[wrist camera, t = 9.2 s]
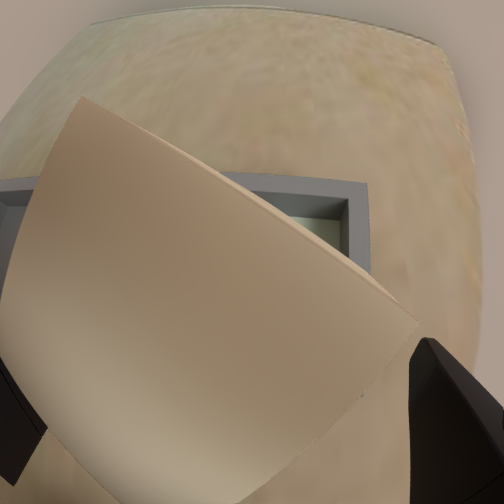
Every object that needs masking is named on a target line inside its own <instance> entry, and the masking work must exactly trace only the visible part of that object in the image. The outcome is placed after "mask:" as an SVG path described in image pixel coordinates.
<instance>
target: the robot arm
mask: <svg viewBox="0 0 504 504" xmlns="http://www.w3.org/2000/svg"><path fill="white" fill-rule="evenodd" d="M408 411H409V430H410V504H504V410H503V407H502V406H501V405H500V404H499V403H498V401H497V400H496V399H495V398H494V397H493V396H492V395H491V394H490V393H489V392H488V391H487V390H486V389H485V388H484V387H483V386H482V385H481V384H480V383H479V382H478V381H477V380H476V379H475V378H474V377H473V376H472V375H471V374H470V373H469V372H468V371H467V370H466V369H465V368H464V367H463V366H462V365H461V364H460V363H459V362H458V361H457V360H456V359H455V358H454V357H453V356H452V355H451V354H450V353H449V352H448V351H447V350H446V349H445V348H444V347H443V346H442V345H441V344H440V343H439V342H438V341H437V340H436V339H433V338H426V337H424V338H422V339H421V340H420V341H419V343H418V345H417V347H416V349H415V351H414V353H413V355H412V356H411V359H410V362H409V400H408ZM47 428H48V427H47V425H46V424H45V423H44V421H43V420H42V419H41V418H40V416H39V415H38V414H37V412H36V411H35V409H34V408H33V407H32V405H31V404H30V403H29V401H28V400H27V398H26V397H25V395H24V394H23V392H22V391H21V389H20V388H19V386H18V385H17V383H16V382H15V380H14V379H13V377H12V375H11V374H10V372H9V371H8V369H7V367H6V366H5V364H4V362H3V361H2V359H1V357H0V476H2V477H3V478H4V479H5V480H6V481H7V482H8V483H10V484H11V485H12V486H14V485H15V484H16V482H17V480H18V479H19V477H20V475H21V473H22V471H23V470H24V468H25V466H26V464H27V462H28V461H29V459H30V457H31V455H32V454H33V452H34V450H35V449H36V447H37V445H38V444H39V442H40V440H41V439H42V436H43V435H44V433H45V432H46V430H47Z"/></svg>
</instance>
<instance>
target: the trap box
mask: <svg viewBox="0 0 504 504" xmlns="http://www.w3.org/2000/svg"><path fill="white" fill-rule="evenodd" d="M219 173H221V174H222V175H224V176H226V177H227V178H229V179H231V180H232V181H234V182H236V183H237V184H239V185H241V186H242V187H244V188H245V189H247V190H249V191H250V192H252V193H254V194H255V195H257V196H258V197H260V198H262V199H263V200H265V201H266V202H268V203H270V204H271V205H273V206H274V207H276V208H277V209H279V210H280V211H282V212H283V213H285V214H286V215H287V216H289V217H290V218H292V219H293V220H295V221H296V222H298V223H299V224H301V225H302V226H304V227H305V228H306V229H308V230H309V231H311V232H312V233H314V234H315V235H317V236H318V237H319V238H321V239H322V240H324V241H325V242H327V243H328V244H329V245H331V246H332V247H334V248H335V249H336V250H338V251H339V252H341V253H342V254H343V255H345V256H346V257H348V258H349V259H350V260H352V261H353V262H355V263H356V264H357V265H359V266H360V267H361V268H363V269H364V270H365V271H366V272H367V273H368V274H369V275H370V225H369V204H368V189H367V183H360V182H351V181H342V180H332V179H321V178H310V177H298V176H284V175H269V174H251V173H229V172H219ZM39 177H40V176H38V177H27V178H17V179H7V180H0V300H1V295H2V291H3V286H4V282H5V278H6V274H7V270H8V266H9V262H10V259H11V255H12V252H13V248H14V245H15V242H16V238H17V235H18V232H19V229H20V226H21V223H22V220H23V217H24V215H25V212H26V209H27V206H28V204H29V201H30V199H31V196H32V193H33V191H34V188H35V186H36V184H37V181H38V179H39ZM363 394H364V393H363ZM363 394H362V395H361V396H360V397H363Z"/></svg>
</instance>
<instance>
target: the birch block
mask: <svg viewBox="0 0 504 504" xmlns="http://www.w3.org/2000/svg"><path fill="white" fill-rule="evenodd" d="M419 324H420V323H419V322H418V321H417V320H416V319H415V318H414V317H413V316H412V315H411V314H410V313H409V312H408V311H407V310H406V309H405V308H404V307H403V306H402V305H401V304H400V303H399V302H398V301H397V300H395V299H394V298H393V297H392V296H391V295H390V294H389V293H388V292H387V291H386V290H385V289H384V288H383V287H382V286H381V285H380V284H379V283H378V282H377V281H375V280H374V279H373V278H372V277H371V276H370V275H369V274H368V273H367V272H366V271H365V270H364V269H363V268H361V267H360V266H359V265H357V264H356V263H355V262H353V261H352V260H350V259H349V258H348V257H346V256H345V255H343V254H342V253H341V252H339V251H338V250H336V249H335V248H334V247H332V246H331V245H329V244H328V243H327V242H325V241H324V240H322V239H321V238H319V237H318V236H317V235H315V234H314V233H312V232H311V231H309V230H308V229H306V228H305V227H304V226H302V225H301V224H299V223H298V222H296V221H295V220H293V219H292V218H290V217H289V216H287V215H286V214H285V213H283V212H282V211H280V210H279V209H277V208H276V207H274V206H273V205H271V204H270V203H268V202H266V201H265V200H263V199H262V198H260V197H258V196H257V195H255V194H254V193H252V192H250V191H249V190H247V189H245V188H244V187H242V186H241V185H239V184H237V183H236V182H234V181H232V180H231V179H229V178H227V177H226V176H224V175H222V174H221V173H219V172H217V171H216V170H214V169H212V168H211V167H209V166H207V165H206V164H204V163H202V162H201V161H199V160H197V159H195V158H194V157H192V156H190V155H188V154H187V153H185V152H183V151H182V150H180V149H178V148H176V147H175V146H173V145H171V144H169V143H168V142H166V141H164V140H162V139H160V138H159V137H157V136H155V135H153V134H151V133H150V132H148V131H146V130H144V129H142V128H141V127H139V126H137V125H135V124H133V123H131V122H130V121H128V120H126V119H124V118H122V117H120V116H118V115H117V114H115V113H113V112H111V111H109V110H107V109H105V108H103V107H101V106H100V105H98V104H96V103H94V102H92V101H90V100H88V99H86V98H84V97H82V96H81V97H80V99H79V100H78V102H77V104H76V105H75V107H74V109H73V111H72V112H71V114H70V116H69V118H68V119H67V121H66V123H65V125H64V127H63V129H62V131H61V132H60V134H59V136H58V138H57V140H56V142H55V144H54V146H53V148H52V150H51V152H50V155H49V157H48V159H47V161H46V163H45V165H44V167H43V170H42V172H41V174H40V177H39V179H38V181H37V184H36V186H35V188H34V191H33V193H32V196H31V199H30V201H29V204H28V206H27V209H26V212H25V215H24V217H23V220H22V223H21V226H20V229H19V232H18V235H17V238H16V242H15V245H14V248H13V252H12V255H11V259H10V262H9V266H8V270H7V274H6V278H5V282H4V286H3V291H2V295H1V300H0V357H1V359H2V361H3V362H4V364H5V366H6V367H7V369H8V371H9V372H10V374H11V375H12V377H13V379H14V380H15V382H16V383H17V385H18V386H19V388H20V389H21V391H22V392H23V394H24V395H25V397H26V398H27V400H28V401H29V403H30V404H31V405H32V407H33V408H34V409H35V411H36V412H37V414H38V415H39V416H40V418H41V419H42V420H43V421H44V423H45V424H46V425H47V427H48V428H49V429H50V430H51V432H52V433H53V434H54V435H55V436H56V438H57V439H58V440H59V441H60V442H61V444H62V445H63V446H64V447H65V448H66V449H67V450H68V452H69V453H70V454H71V455H72V456H73V457H74V458H75V459H76V460H77V461H78V462H79V464H80V465H81V466H82V467H83V468H84V469H85V470H86V471H87V472H88V473H89V474H90V475H91V476H92V477H93V478H94V479H95V480H96V481H97V482H98V483H99V484H100V485H101V486H102V487H103V488H105V489H106V490H107V491H108V492H109V493H110V494H111V495H112V496H113V497H114V498H116V499H117V500H118V501H119V502H120V503H121V504H237V503H238V502H240V501H241V500H243V499H244V498H245V497H247V496H248V495H250V494H251V493H252V492H254V491H255V490H256V489H258V488H259V487H260V486H262V485H263V484H264V483H266V482H267V481H268V480H270V479H271V478H272V477H273V476H275V475H276V474H277V473H278V472H280V471H281V470H282V469H283V468H285V467H286V466H287V465H288V464H289V463H291V462H292V461H293V460H294V459H295V458H296V457H298V456H299V455H300V454H301V453H302V452H303V451H305V450H306V449H307V448H308V447H309V446H310V445H311V444H312V443H313V442H315V441H316V440H317V439H318V438H319V437H320V436H321V435H322V434H323V433H324V432H325V431H326V430H327V429H328V428H329V427H330V426H331V425H333V424H334V423H335V422H336V421H337V420H338V419H339V418H340V417H341V416H342V415H343V414H344V413H345V412H346V411H347V409H348V408H349V407H350V406H351V405H352V404H353V403H354V402H355V401H356V400H357V399H358V398H359V397H360V396H361V395H362V394H363V393H364V391H365V390H366V389H367V388H368V387H369V386H370V385H371V384H372V383H373V381H374V380H375V379H376V378H377V377H378V376H379V374H380V373H381V372H382V371H383V370H384V369H385V367H386V366H387V365H388V364H389V363H390V361H391V360H392V359H393V358H394V357H395V355H396V354H397V353H398V352H399V350H400V349H401V348H402V347H403V345H404V344H405V343H406V341H407V340H408V339H409V338H410V336H411V335H412V334H413V332H414V331H415V330H416V328H417V327H418V325H419Z"/></svg>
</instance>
